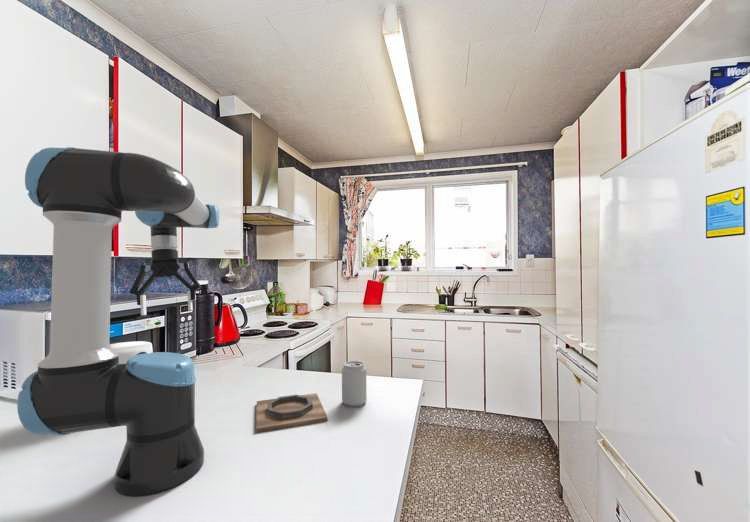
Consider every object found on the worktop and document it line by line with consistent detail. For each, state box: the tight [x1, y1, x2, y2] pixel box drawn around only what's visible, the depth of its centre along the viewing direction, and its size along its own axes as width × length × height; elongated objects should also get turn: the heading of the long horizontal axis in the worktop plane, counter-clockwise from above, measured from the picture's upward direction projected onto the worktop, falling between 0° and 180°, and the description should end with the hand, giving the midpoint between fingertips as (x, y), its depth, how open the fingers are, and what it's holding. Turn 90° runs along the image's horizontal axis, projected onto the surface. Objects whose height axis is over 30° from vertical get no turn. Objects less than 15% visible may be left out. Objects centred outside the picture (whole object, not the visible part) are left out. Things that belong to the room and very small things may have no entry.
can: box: [341, 360, 368, 407], centre depth 101 cm, size 8×8×12 cm
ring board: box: [255, 392, 329, 433], centre depth 94 cm, size 18×18×2 cm
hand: (167, 312), depth 110 cm, fingers open, 13 cm apart
